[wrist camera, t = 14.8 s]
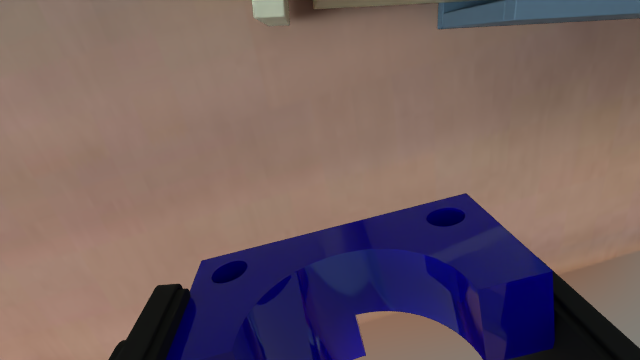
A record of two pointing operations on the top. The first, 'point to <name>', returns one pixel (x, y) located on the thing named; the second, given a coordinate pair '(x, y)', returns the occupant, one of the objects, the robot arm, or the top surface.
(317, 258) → the cable holder
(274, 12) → the drawer
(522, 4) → the cabinet
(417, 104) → the top surface
